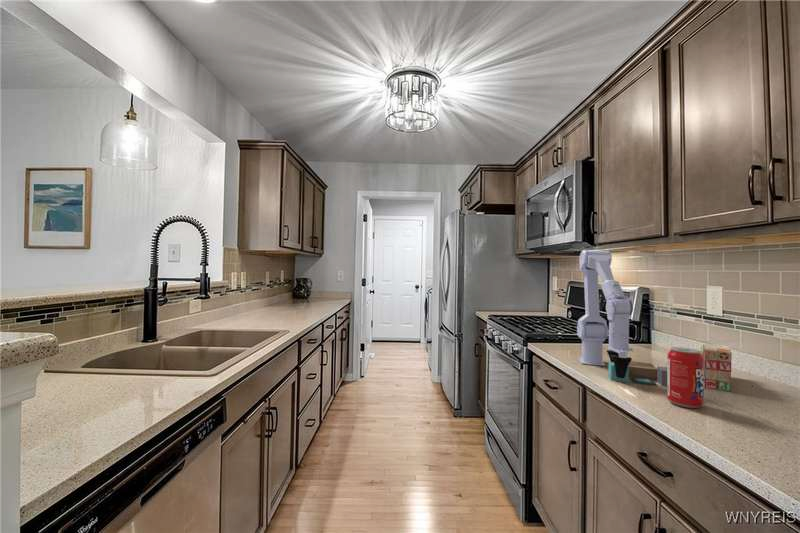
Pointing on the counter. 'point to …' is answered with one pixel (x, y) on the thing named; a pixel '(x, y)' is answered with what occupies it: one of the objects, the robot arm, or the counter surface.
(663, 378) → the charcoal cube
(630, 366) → the walnut block
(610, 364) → the teal cube
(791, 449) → the counter surface
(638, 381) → the mat
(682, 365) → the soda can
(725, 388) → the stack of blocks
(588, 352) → the robot arm
